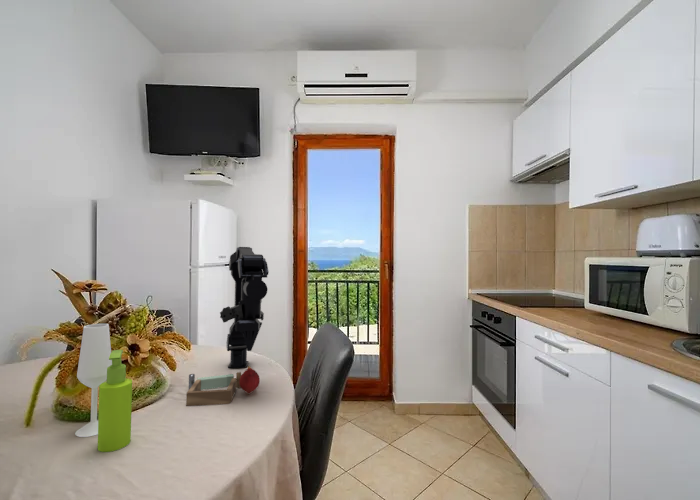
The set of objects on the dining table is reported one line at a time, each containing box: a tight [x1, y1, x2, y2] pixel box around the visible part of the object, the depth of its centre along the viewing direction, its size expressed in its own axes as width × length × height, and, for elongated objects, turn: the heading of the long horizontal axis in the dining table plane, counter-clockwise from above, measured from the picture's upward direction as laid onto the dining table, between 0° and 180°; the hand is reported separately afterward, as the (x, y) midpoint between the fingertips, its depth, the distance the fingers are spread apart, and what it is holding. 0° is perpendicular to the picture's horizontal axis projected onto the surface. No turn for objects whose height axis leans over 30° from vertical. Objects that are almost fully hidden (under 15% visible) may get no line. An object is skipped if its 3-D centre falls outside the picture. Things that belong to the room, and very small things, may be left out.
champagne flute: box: [74, 323, 112, 438], centre depth 81 cm, size 7×7×24 cm
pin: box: [188, 373, 196, 390], centre depth 105 cm, size 2×2×4 cm
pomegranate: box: [239, 365, 261, 395], centre depth 103 cm, size 6×6×8 cm
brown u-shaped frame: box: [185, 371, 242, 407], centre depth 101 cm, size 12×13×4 cm
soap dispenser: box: [97, 349, 133, 453], centre depth 74 cm, size 6×7×20 cm
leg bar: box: [196, 373, 235, 391], centre depth 107 cm, size 10×2×3 cm, turn 112°
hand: (250, 349), depth 103 cm, fingers open, 3 cm apart
